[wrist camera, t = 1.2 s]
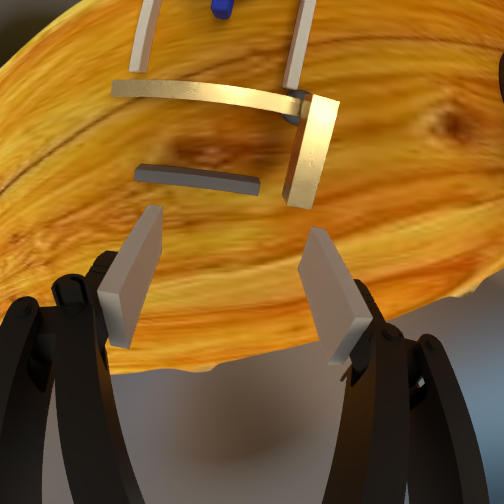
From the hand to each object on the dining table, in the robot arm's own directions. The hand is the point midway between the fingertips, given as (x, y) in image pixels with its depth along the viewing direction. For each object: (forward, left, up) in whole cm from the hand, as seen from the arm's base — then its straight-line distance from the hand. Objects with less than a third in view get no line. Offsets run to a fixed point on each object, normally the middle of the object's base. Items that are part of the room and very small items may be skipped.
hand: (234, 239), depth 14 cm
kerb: (+4, +3, -21) cm, 22 cm away
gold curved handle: (+3, -3, -20) cm, 20 cm away
